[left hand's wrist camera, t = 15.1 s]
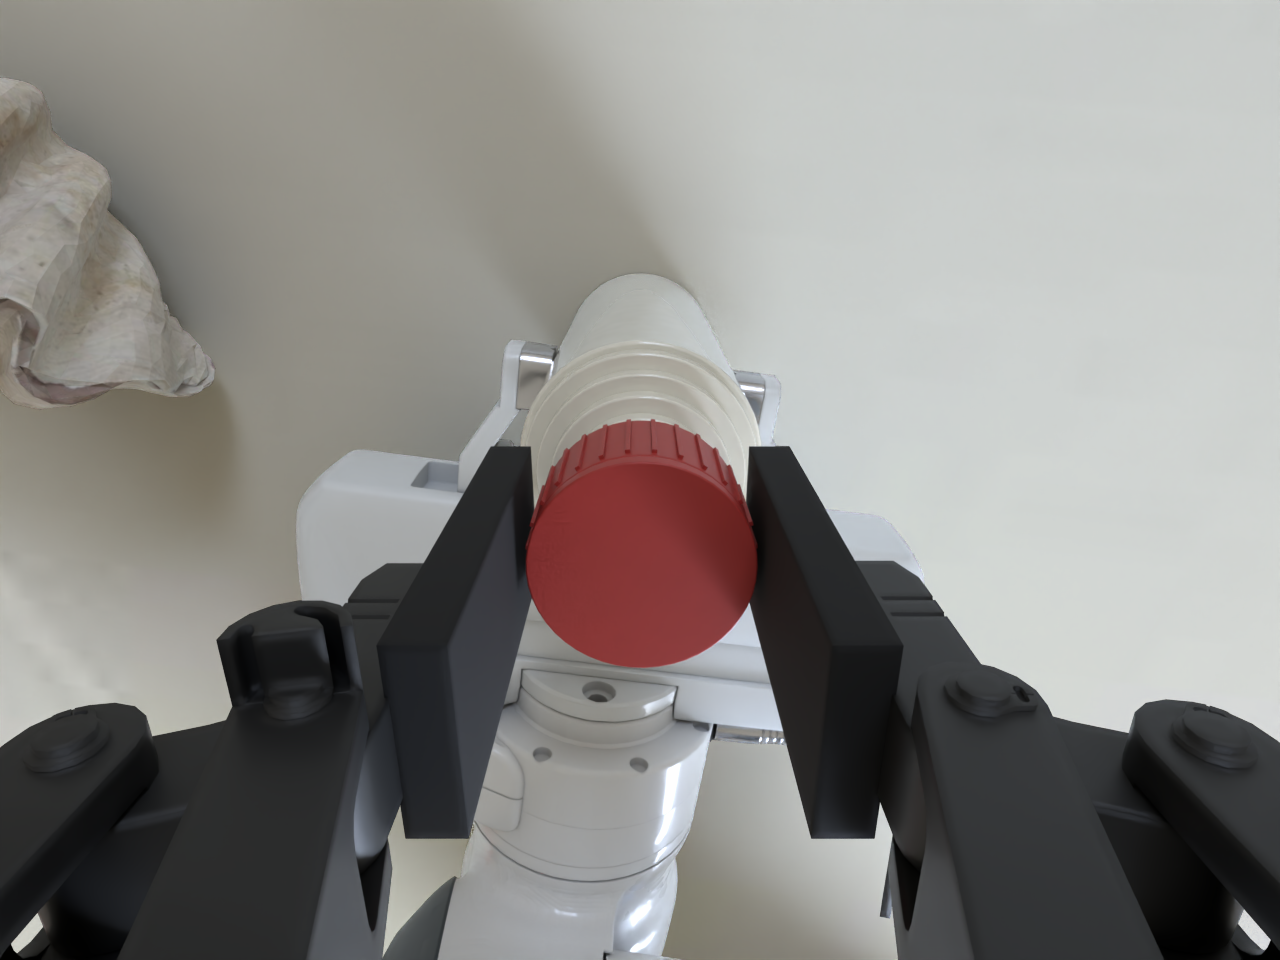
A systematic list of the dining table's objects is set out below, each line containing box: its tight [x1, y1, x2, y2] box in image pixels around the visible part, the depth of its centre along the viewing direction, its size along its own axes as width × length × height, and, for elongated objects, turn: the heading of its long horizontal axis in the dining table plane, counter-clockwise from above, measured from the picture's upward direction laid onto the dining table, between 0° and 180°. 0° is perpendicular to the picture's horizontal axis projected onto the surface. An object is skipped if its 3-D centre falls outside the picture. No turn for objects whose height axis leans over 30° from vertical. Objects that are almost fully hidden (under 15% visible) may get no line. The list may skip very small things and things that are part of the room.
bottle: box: [520, 273, 762, 509], centre depth 21 cm, size 6×6×18 cm
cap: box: [525, 419, 758, 668], centre depth 13 cm, size 4×4×2 cm
